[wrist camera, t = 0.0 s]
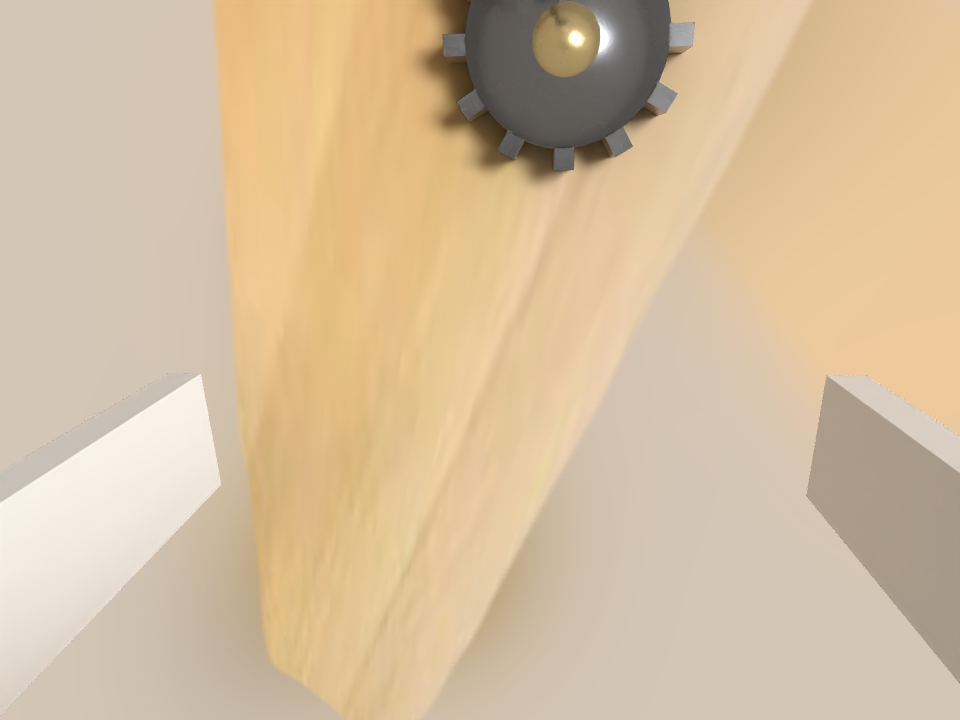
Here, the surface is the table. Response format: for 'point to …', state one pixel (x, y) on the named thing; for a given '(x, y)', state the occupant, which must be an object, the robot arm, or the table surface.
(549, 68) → the gear plate
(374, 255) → the table surface
